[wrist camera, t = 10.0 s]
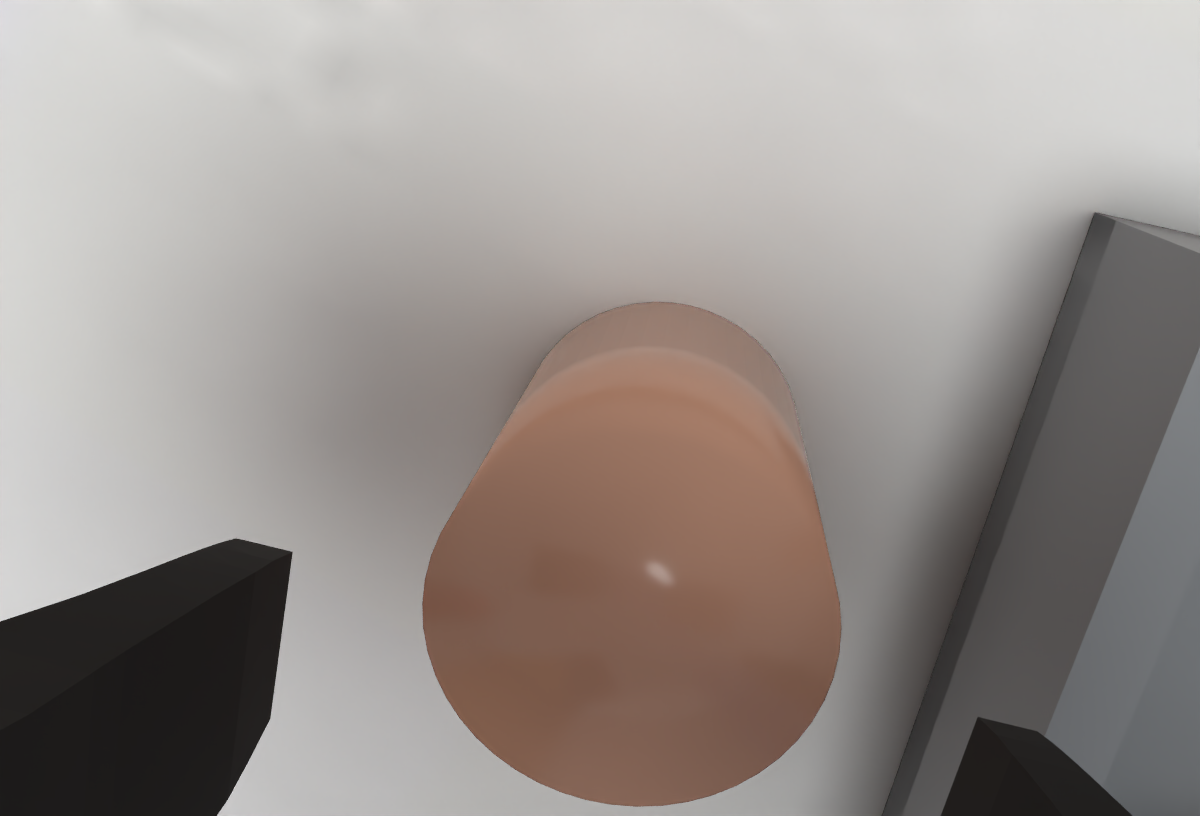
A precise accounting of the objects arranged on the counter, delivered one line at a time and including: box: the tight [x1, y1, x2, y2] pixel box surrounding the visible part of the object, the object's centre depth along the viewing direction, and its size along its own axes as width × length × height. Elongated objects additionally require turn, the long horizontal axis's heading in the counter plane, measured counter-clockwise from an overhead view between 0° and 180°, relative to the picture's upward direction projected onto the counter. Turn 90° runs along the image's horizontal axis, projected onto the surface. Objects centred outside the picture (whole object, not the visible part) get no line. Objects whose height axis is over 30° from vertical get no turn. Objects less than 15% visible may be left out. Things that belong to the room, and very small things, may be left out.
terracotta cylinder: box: [422, 302, 841, 806], centre depth 16 cm, size 5×5×7 cm
